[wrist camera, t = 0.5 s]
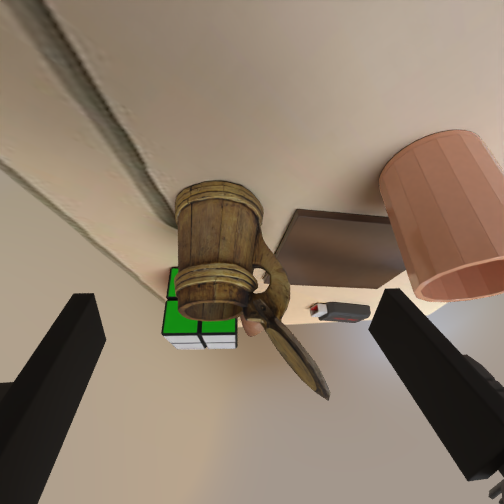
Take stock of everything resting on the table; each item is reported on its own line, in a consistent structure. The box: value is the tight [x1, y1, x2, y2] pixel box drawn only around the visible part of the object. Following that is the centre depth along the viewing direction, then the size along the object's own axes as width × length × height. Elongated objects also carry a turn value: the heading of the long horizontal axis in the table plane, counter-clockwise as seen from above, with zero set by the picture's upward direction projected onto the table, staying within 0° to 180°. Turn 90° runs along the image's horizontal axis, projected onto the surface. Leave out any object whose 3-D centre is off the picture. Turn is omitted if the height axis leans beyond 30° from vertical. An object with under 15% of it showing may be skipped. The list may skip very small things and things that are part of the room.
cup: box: [379, 130, 504, 302], centre depth 22 cm, size 8×8×11 cm
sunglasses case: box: [240, 315, 264, 337], centre depth 58 cm, size 18×7×7 cm, turn 3°
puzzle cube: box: [161, 268, 238, 349], centre depth 42 cm, size 10×10×10 cm
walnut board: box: [264, 209, 406, 289], centre depth 38 cm, size 18×20×1 cm
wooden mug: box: [174, 181, 330, 400], centre depth 25 cm, size 9×14×18 cm, turn 91°
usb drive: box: [310, 302, 371, 323], centre depth 58 cm, size 5×12×3 cm, turn 71°
